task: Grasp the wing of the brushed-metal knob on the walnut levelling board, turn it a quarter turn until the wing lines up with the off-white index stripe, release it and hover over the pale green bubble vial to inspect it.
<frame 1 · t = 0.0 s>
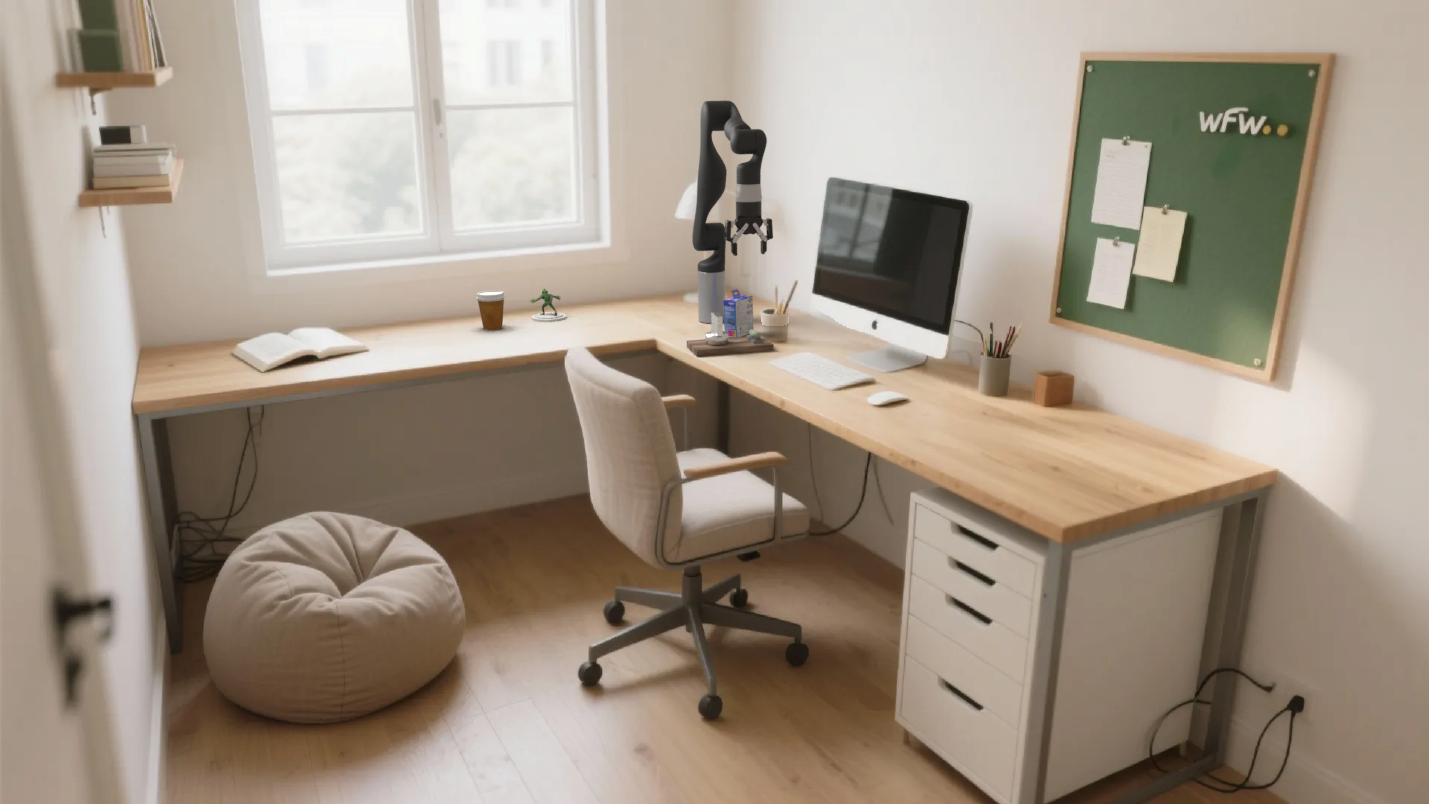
hand: (748, 254, 329), 29 cm above the table, fingers open, 8 cm apart
monster figurine: (549, 319, 387), on the table
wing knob: (716, 328, 337), point 7 cm above the table, hinge at 0.0°
ink cartridge box: (738, 335, 359), on the table
levelling board: (729, 348, 340), on the table
disposable coffee cup: (492, 328, 373), on the table
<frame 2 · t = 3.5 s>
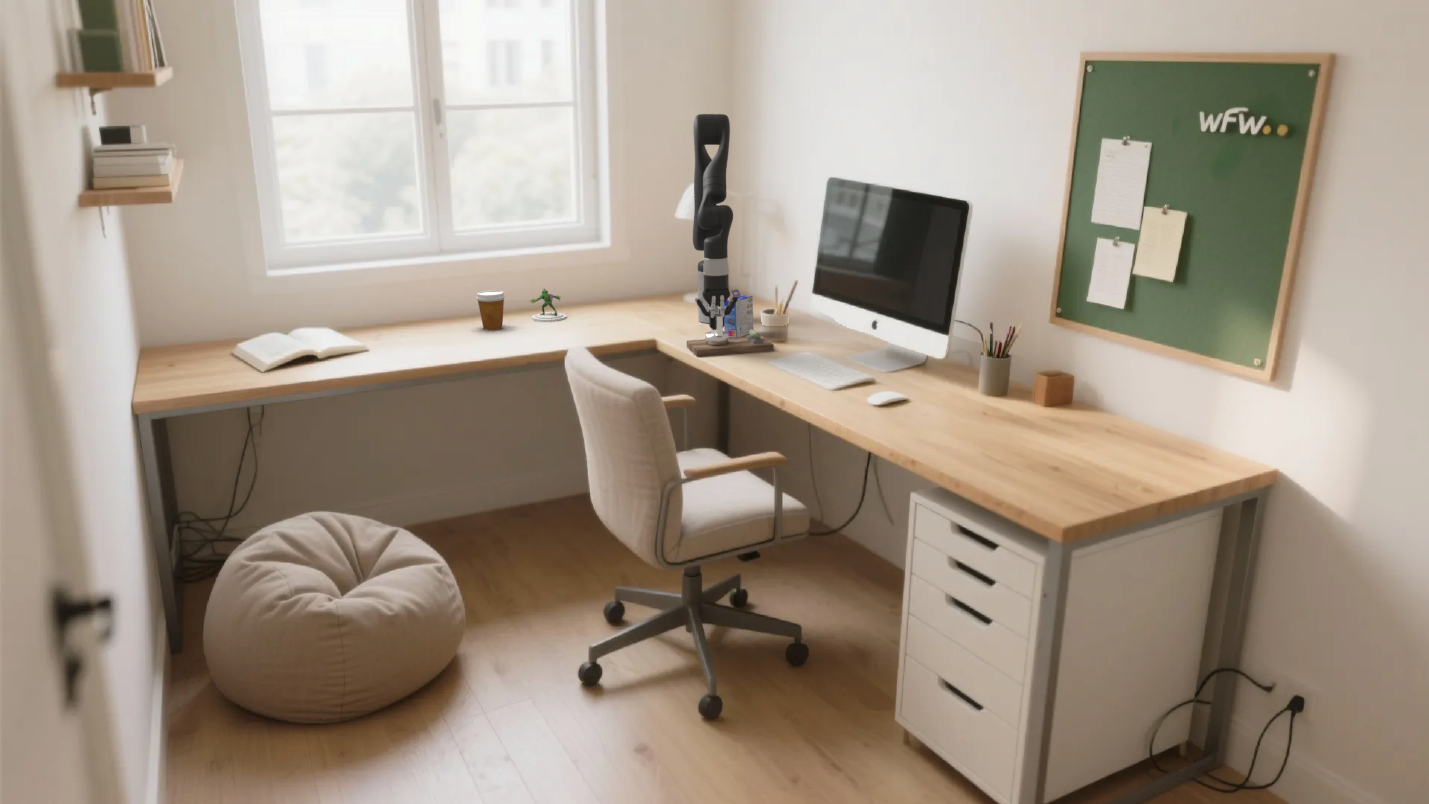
hand: (716, 328, 337), 7 cm above the table, fingers closed on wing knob
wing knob: (716, 328, 337), point 7 cm above the table, hinge at 0.0°, touching gripper
everything else where it was.
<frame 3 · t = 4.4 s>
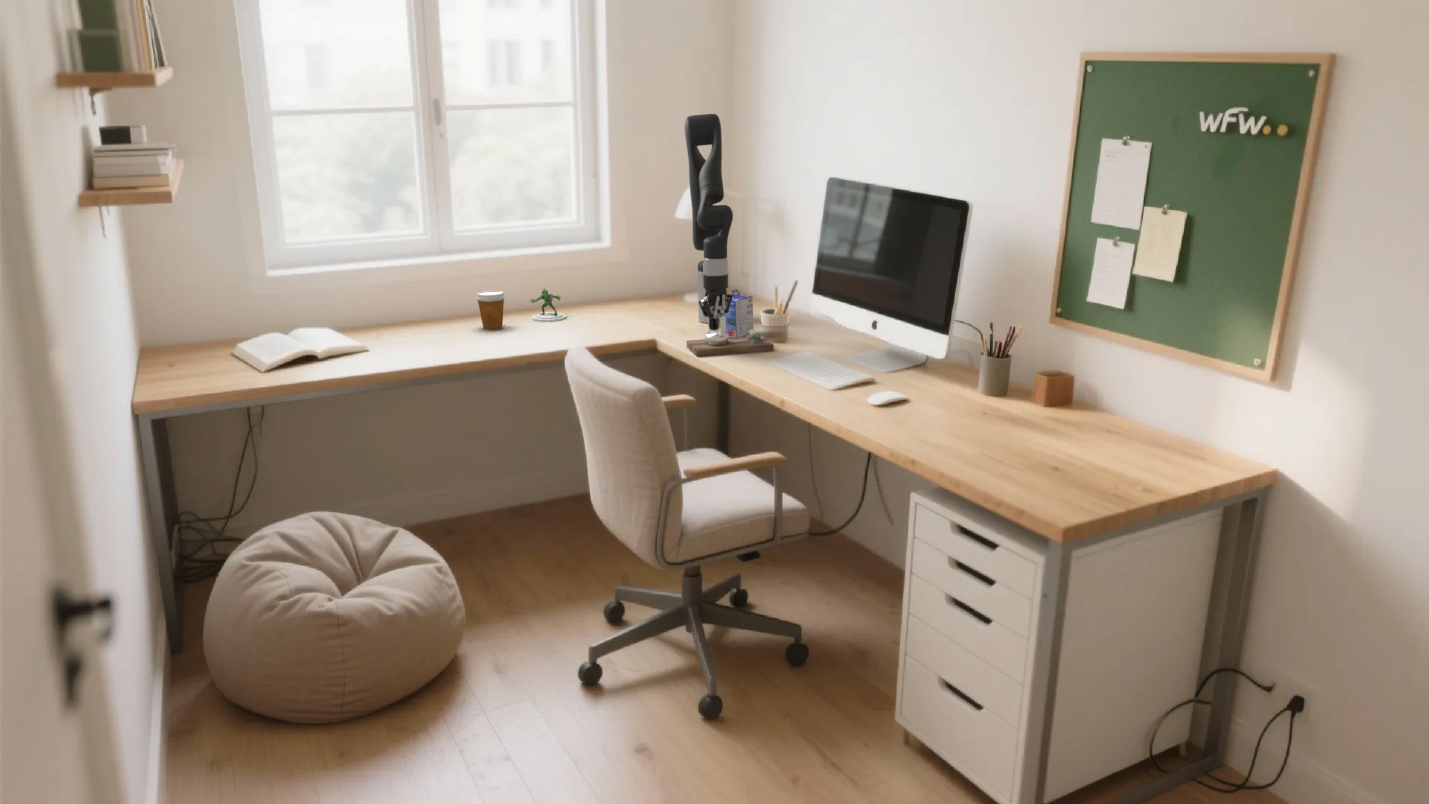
hand: (716, 328, 338), 7 cm above the table, fingers closed on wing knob, 2 cm apart
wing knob: (716, 328, 337), point 7 cm above the table, hinge at 17.4°, touching gripper
everything else where it was.
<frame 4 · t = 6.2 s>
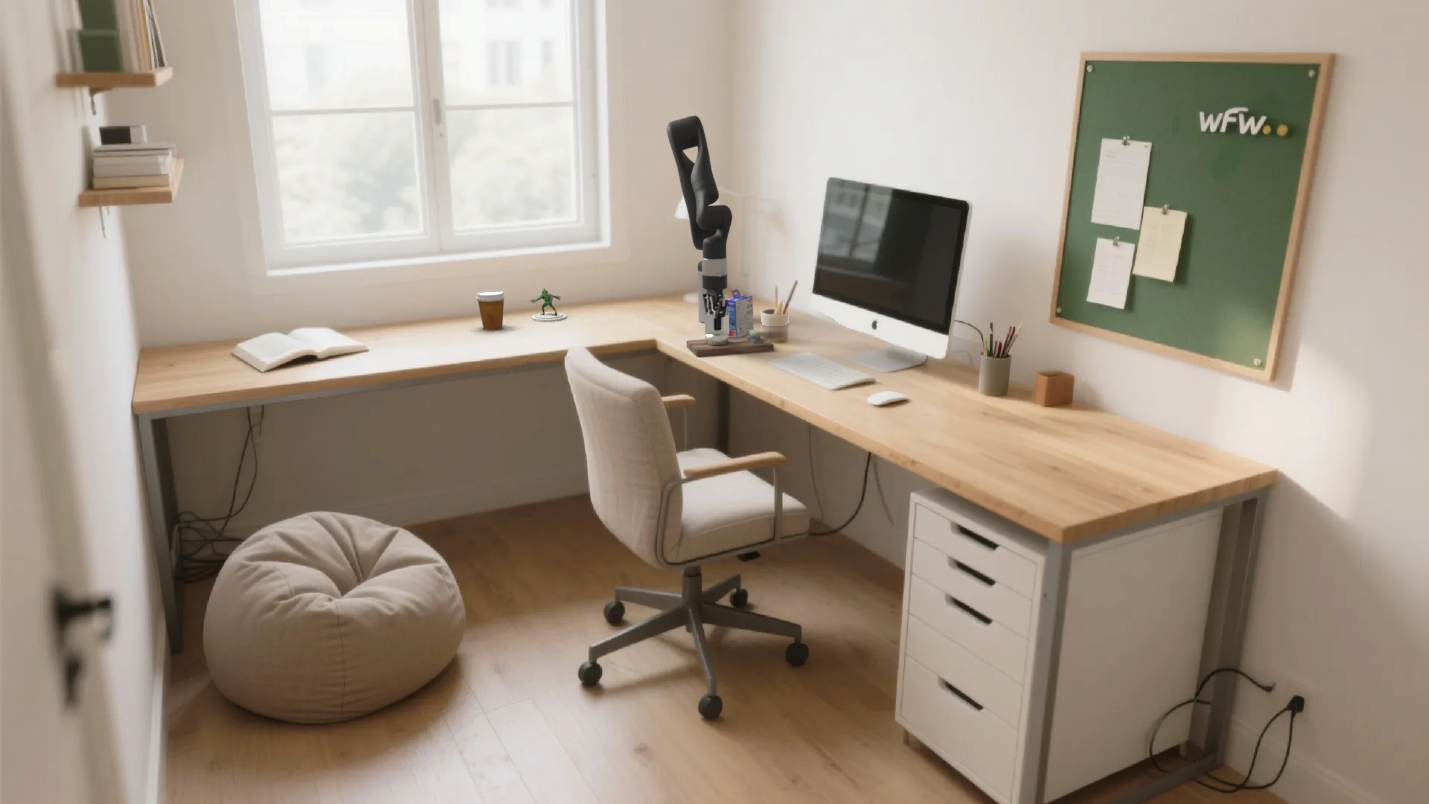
hand: (715, 328, 337), 7 cm above the table, fingers closed on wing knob, 3 cm apart
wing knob: (717, 328, 337), point 7 cm above the table, hinge at 72.2°, touching gripper
everything else where it was.
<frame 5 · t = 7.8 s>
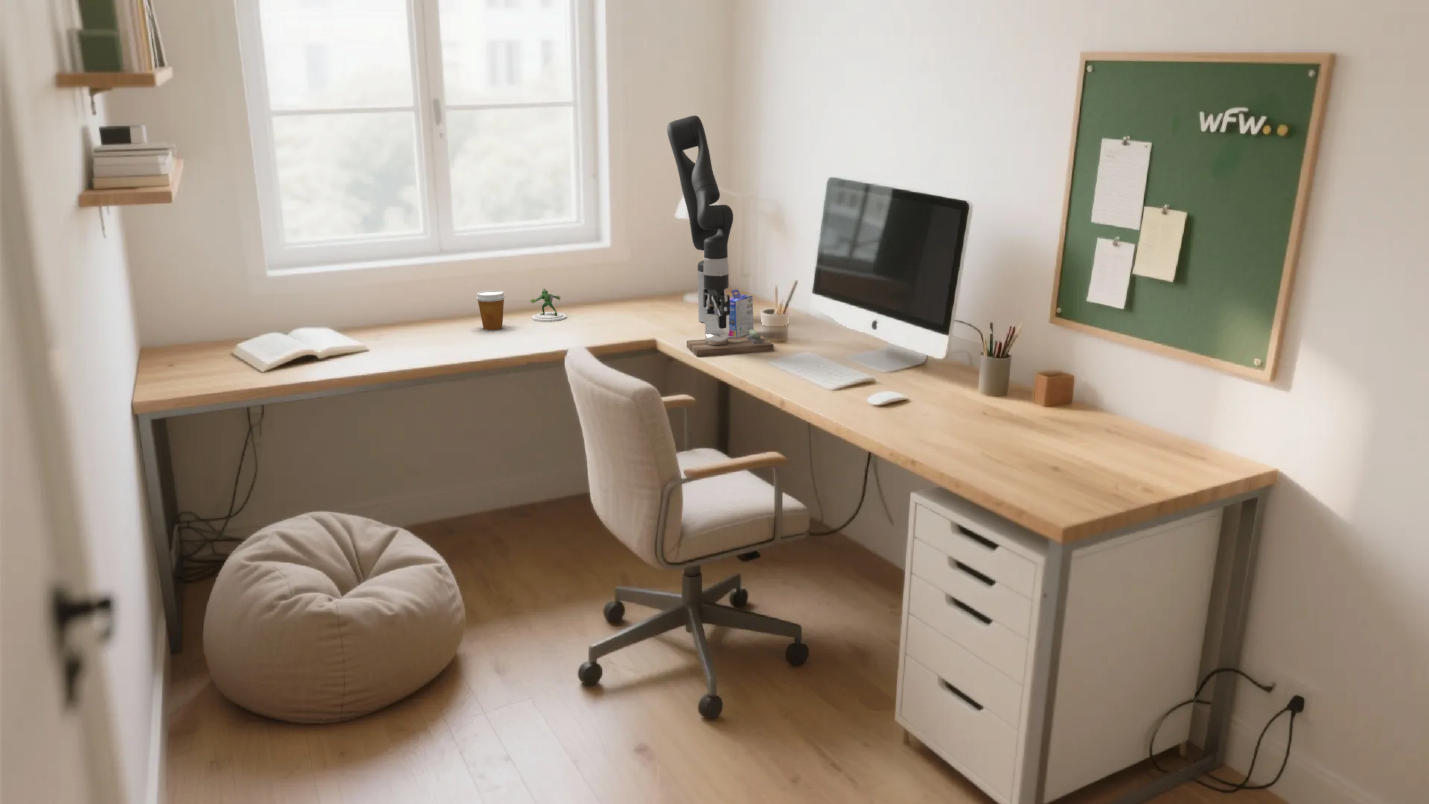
hand: (716, 325, 337), 8 cm above the table, fingers open, 8 cm apart
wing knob: (717, 328, 337), point 7 cm above the table, hinge at 77.6°
everything else where it was.
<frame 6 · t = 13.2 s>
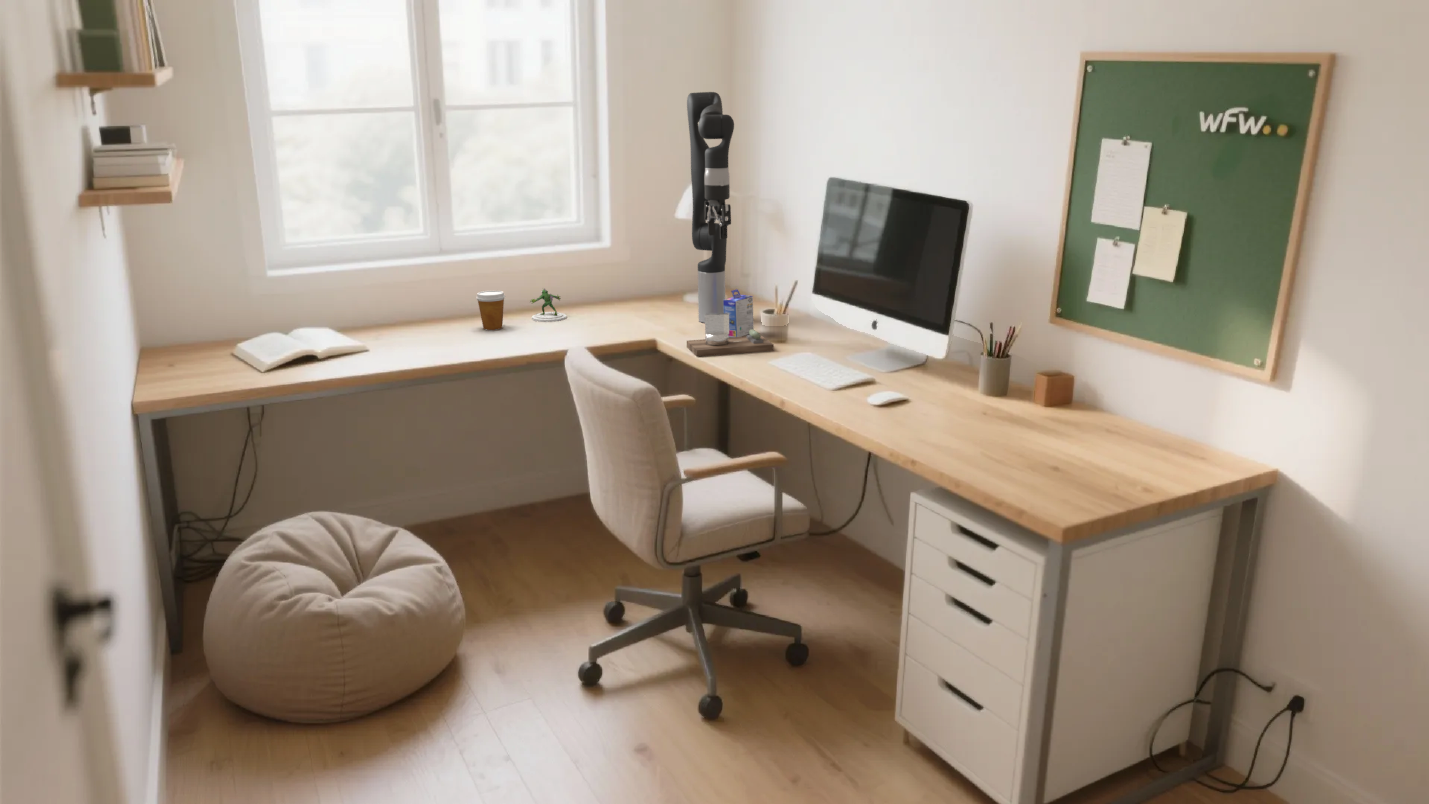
hand: (717, 236, 339), 33 cm above the table, fingers open, 8 cm apart
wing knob: (717, 328, 337), point 7 cm above the table, hinge at 78.3°
everything else where it was.
at the end: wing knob at +78° (first picture: +0°); the gripper is holding nothing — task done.
